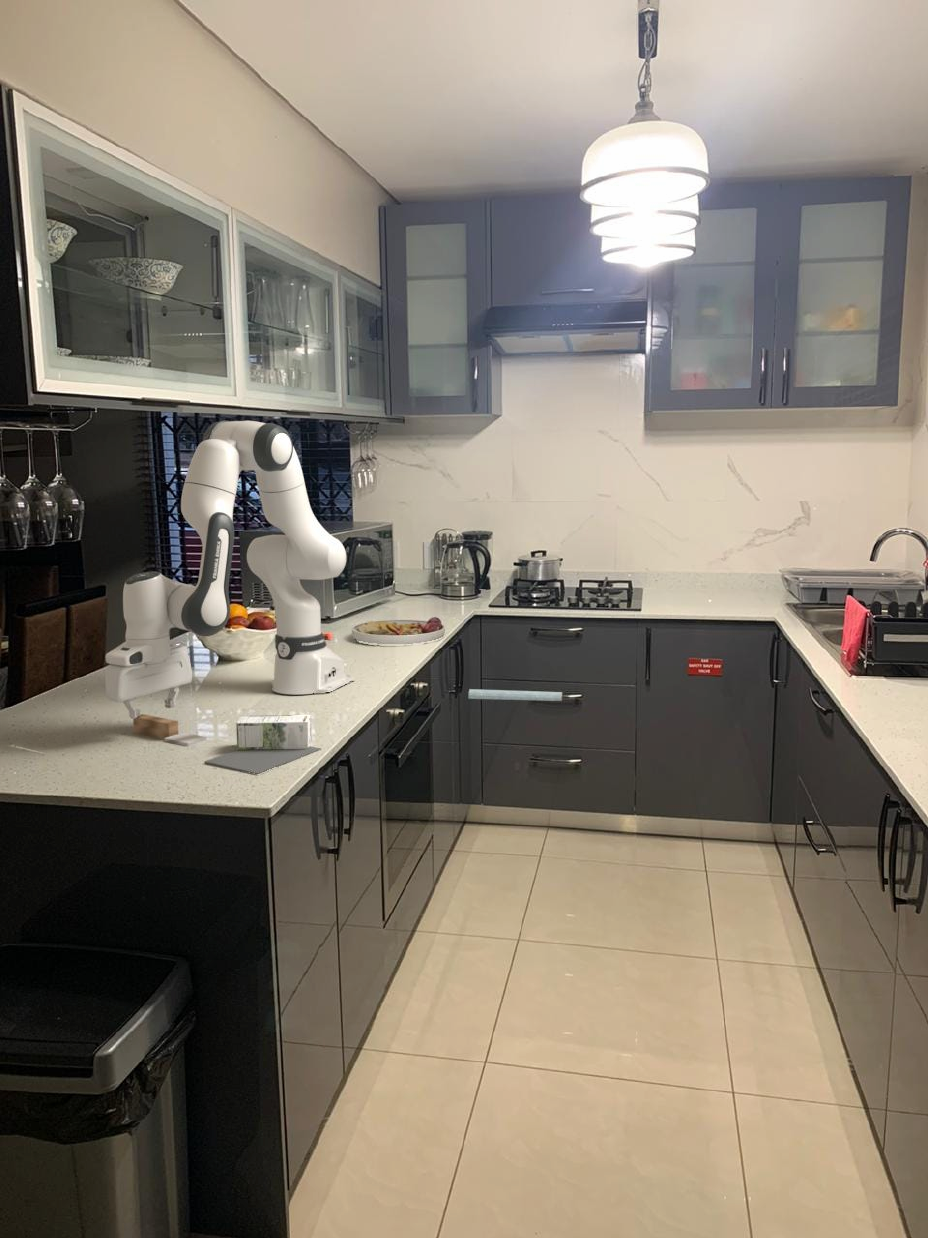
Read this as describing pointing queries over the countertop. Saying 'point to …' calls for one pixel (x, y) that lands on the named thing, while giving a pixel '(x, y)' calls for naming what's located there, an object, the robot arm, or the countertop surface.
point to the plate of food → (399, 631)
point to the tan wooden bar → (164, 730)
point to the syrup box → (274, 732)
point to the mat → (259, 759)
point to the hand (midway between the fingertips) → (153, 712)
